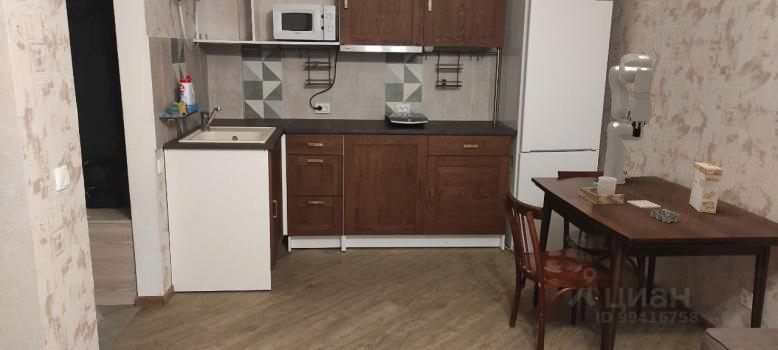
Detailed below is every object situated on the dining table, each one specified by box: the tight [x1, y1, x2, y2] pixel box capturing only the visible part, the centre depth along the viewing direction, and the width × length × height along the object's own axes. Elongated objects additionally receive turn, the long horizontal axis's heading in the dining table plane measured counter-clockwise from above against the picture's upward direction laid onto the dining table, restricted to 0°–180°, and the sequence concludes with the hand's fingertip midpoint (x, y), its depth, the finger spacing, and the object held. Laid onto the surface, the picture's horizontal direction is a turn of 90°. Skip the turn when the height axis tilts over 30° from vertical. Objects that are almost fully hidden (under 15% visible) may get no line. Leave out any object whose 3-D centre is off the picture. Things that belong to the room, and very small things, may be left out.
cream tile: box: [626, 199, 662, 209], centre depth 266 cm, size 10×10×1 cm
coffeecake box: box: [689, 161, 724, 214], centre depth 263 cm, size 15×7×20 cm, turn 168°
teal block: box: [591, 181, 598, 187], centre depth 283 cm, size 5×5×5 cm
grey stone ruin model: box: [649, 207, 681, 224], centre depth 245 cm, size 11×8×4 cm
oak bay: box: [578, 186, 625, 205], centre depth 272 cm, size 14×14×4 cm
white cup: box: [597, 175, 617, 195], centre depth 272 cm, size 8×8×10 cm
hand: (636, 136), depth 269 cm, fingers closed
